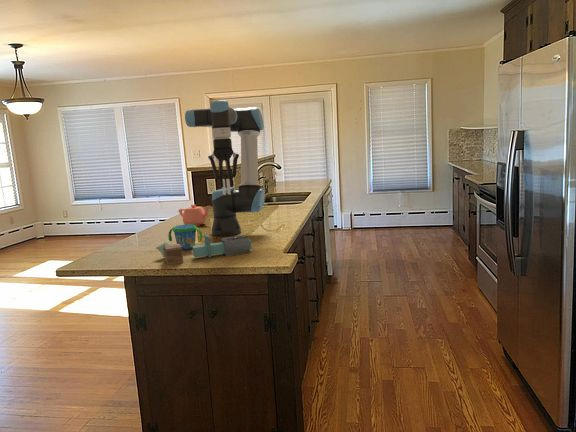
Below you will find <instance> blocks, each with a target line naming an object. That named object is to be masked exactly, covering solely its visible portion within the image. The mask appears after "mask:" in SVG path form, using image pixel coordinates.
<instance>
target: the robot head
mask: <svg viewBox="0 0 576 432" xmlns="http://www.w3.org/2000/svg"><path fill="white" fill-rule="evenodd" d="M165 245H172V244H171V243H170V241H169V242H168V241H164V242H162V243H161V244H160V245H158V246H156V247H155V249H157V250H158V251H159V252H160V253H161V255H162V256H163V257H164V258H166V256H165V247H164V246H165Z"/></svg>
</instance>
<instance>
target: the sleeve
mask: <svg viewBox="0 0 576 432" xmlns="http://www.w3.org/2000/svg"><path fill="white" fill-rule="evenodd" d="M248 239H249V237H247V236H246V235H235V236H227V237H221V238H220V240H221V241H220V242H224V243H225V253H223V254H222V255H224V256H225V257H229V256H236V255H237V254H238V255H243V254H242V253H245V254H249V253H250V250H249V242H248ZM238 255H237V256H238Z"/></svg>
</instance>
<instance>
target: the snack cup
mask: <svg viewBox="0 0 576 432" xmlns="http://www.w3.org/2000/svg"><path fill="white" fill-rule="evenodd" d="M172 232H173V233H174V238H175V242H176V244H180V245H181V247H182V251H183V250H193V247H192V246H196V232H198V234H199V241H200V242H202V241H203V233H202V230H201V229H200V228H199V226H198V227H196V225H185V224H180V225H175V226H173V227H172V228H171V229H170V230H169V232H168V241H169V242H172V241H173V237H172Z"/></svg>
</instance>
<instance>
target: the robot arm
mask: <svg viewBox="0 0 576 432" xmlns="http://www.w3.org/2000/svg"><path fill="white" fill-rule="evenodd" d="M184 121H185V124H186V126H187V127H188V128H199V127H201V128H212V129H211V130H212V138H213V141H212V142H213V151H212V154H210V155H208V156H207V159H208V160H209V161H210V165H211V169H212V172H213V177H214V178H215V179H217V180H219V183H218V184H219V187H220V188H219V189H216V190H213V191H212V193H211V203H212V212H213V213H212V214H213V222H212V225H211V229H210V230H211V235H213V236H217V237H218V236H219V237H220V236H221V237H223V236H234V235H237V234H240V233H241V232H242V228H241V225H240V223H239V220H238V217H237V213H240V214H241V213H258V212H261V211H262V210H263V208H264V204H265V199H266V198H265V197H266V196H265V195H266V193H265V190H264V188H262V184H261V183H259V165H258V164H259V158H258V154H259V152H258V151H259V150H258V149H259V148H258V147H259V146H258V138H259V136H260V135H261V131H263V130H264V128H265V126H264V118H263V115H262V112H261V110H260V108H258V107H244V108H243V107H242V108H233V107H230V105H229V102H228V100H224V99H220V100H212V101H211V102H210V107H209V108H197V109H188V110H186V111H185V113H184ZM231 132H232V133H234V132H235V133H236V132H237V136H239V137H240V154H239V153H236V152H235V151H234V149H233V145H232V139H231V138H232V133H231ZM239 156H240V174H241V175H240V177H241V178H240V179H241V181H240V183H239V185H238V189H235V187H234V186H233V179H234V178H236V177H237V167H238V159H239ZM215 158H216V159H217V161H218V162H217V163H218V169H217V167H216V162H215ZM231 158H233V159H232V168H231ZM224 162H225V167H226V173H227V178H226V180H225V179H224V173H223V172H224V170H223V169H224V168H223V166H224V164H223V163H224Z"/></svg>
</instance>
